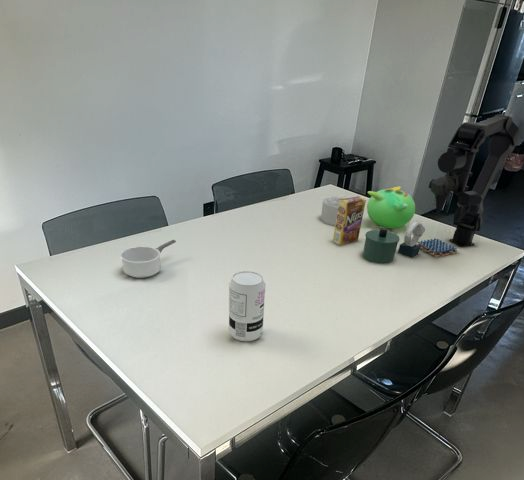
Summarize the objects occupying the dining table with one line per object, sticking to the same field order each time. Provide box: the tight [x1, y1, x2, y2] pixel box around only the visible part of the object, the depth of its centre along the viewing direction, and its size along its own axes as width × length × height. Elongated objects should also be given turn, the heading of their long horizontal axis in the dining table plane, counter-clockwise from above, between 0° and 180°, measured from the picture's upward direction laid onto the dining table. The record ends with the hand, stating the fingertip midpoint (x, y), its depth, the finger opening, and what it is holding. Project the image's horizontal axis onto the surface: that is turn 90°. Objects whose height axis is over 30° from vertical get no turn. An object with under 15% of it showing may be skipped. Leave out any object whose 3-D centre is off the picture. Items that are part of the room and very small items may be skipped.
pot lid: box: [364, 226, 401, 244], centre depth 149 cm, size 11×11×4 cm
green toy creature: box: [366, 186, 416, 229], centre depth 175 cm, size 18×17×15 cm
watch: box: [397, 221, 426, 259], centre depth 155 cm, size 6×8×11 cm
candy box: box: [332, 195, 367, 246], centre depth 159 cm, size 9×4×15 cm, turn 123°
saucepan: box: [119, 239, 177, 279], centre depth 138 cm, size 12×20×6 cm, turn 145°
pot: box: [362, 237, 399, 265], centre depth 152 cm, size 10×10×7 cm
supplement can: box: [228, 270, 266, 342], centre depth 108 cm, size 8×8×15 cm
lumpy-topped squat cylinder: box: [320, 195, 347, 227], centre depth 179 cm, size 10×13×9 cm
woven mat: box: [416, 237, 458, 258], centre depth 161 cm, size 10×11×2 cm
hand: (447, 217), depth 151 cm, fingers open, 9 cm apart
